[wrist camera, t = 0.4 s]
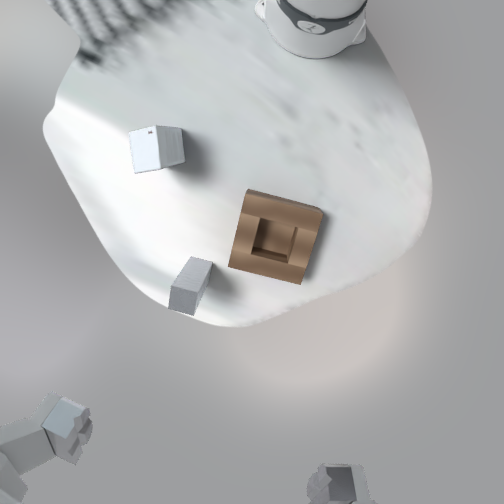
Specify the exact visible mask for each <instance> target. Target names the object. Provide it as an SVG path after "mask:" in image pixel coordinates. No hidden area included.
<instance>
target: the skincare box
mask: <svg viewBox="0 0 504 504" xmlns="http://www.w3.org/2000/svg"><path fill="white" fill-rule="evenodd" d="M129 140H130V148H131V154H132V160H133V167H134V173H135V174H136V173H142V172H148V171H154V170H160V169H163V168H167V167H170V166H173V165H177V164H181V163H184V162H185V155H184V147H183V139H182V131H181V128H176V127H167V126H157V125H154V126H150V127H146V128H142V129H138V130H134V131H130V132H129Z"/></svg>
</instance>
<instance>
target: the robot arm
mask: <svg viewBox="0 0 504 504" xmlns="http://www.w3.org/2000/svg"><path fill="white" fill-rule="evenodd" d="M366 3H367V0H259V1H258V3H257V5H256V6H255V10H254V11H255V14H256V15H257V16H258V17H259V18H260V19H261V20H262V21H264V22H265V23H266V25H267V27H268V29H269V31H270V33H271V35H272V37H273V38H274V40H275V41H276V42H277V43H278V44H279V45H280V46H281V47H283V48H284V49H286V50H287V51H289V52H291V53H293V54H295V55H298V56H301V57H306V58H326V57H330V56H333V55H335V54H337V53H339V52H341V51H342V50H343V49H345V48H346V47H348V46H350V45H355V44H360V43H362V42H364V40H365V39H366V20H365V6H366ZM263 4H264V6H263ZM360 31H361V32H360ZM89 416H90V410H89V408H87V407H85V406H83V405H80V404H78V403H76V402H74V401H72V400H70V399H67V398H65V397H64V396H62V395H60V394H57V393H55V392H53V391H51V392H50V393H48V395H47V396H46V397H45V398H44V400H43V401H42V402H41V404H40V405H39V406H38V408H37V409H36V410H35V412H34V413H33V414H32V416H31V417H30V418H29V420H28V419H27V418H24V419H21V420H18V421H15V422H12V423H9V424H6V425H3V426H1V427H0V504H23V503H22V502H21V501H22V499H23V497H24V495H25V494H26V492H27V490H28V488H27V485H26V484H25V483H24V482H23V480H22V479H21V478H20V475H22V474H24V473H25V472H28V471H30V470H32V469H33V468H35V467H37V466H39V465H41V464H43V463H45V462H47V461H49V460H51V459H52V458H54V457H55V456H58V457H60V458H62V459H64V460H66V461H68V462H70V463H72V464H75V465H76V463H77V462H78V460H79V458H80V456H81V454H82V448H81V446H82V445H84V444H87V442H88V441H89V439H90V436H91V433H92V421H91V420H90V419H89V418H88V417H89ZM307 496H308V497H309V498H310V499H311V502H310V503H309V504H377V503H376V502H375V501H374V500H370V495H369V490H368V486H367V481H366V476H365V472H364V467H363V466H362V465H352V464H349V465H348V464H321V465H320V466H319V467H318V472H316V473H314V474H313V475H312V476H311V478H310V479H309V482H308V485H307Z"/></svg>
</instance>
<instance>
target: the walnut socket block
mask: <svg viewBox="0 0 504 504" xmlns="http://www.w3.org/2000/svg"><path fill="white" fill-rule="evenodd" d="M322 217H323V213H322V212H321V210H320V209H319V208H318V207H314V206H311V205H307V204H304V203H300V202H296V201H293V200H289V199H285V198H281V197H278V196H274V195H270V194H266V193H262V192H258V191H254V190H250V189H248V190H247V192H246V193H245V197H244V201H243V205H242V210H241V214H240V218H239V222H238V226H237V230H236V234H235V239H234V243H233V247H232V251H231V255H230V260H229V264H228V267H230V268H234V269H238V270H242V271H246V272H250V273H254V274H258V275H262V276H266V277H271V278H275V279H279V280H283V281H287V282H291V283H295V284H299V285H301V282H302V279H303V276H304V273H305V270H306V267H307V264H308V261H309V258H310V255H311V252H312V249H313V245H314V242H315V239H316V236H317V233H318V230H319V226H320V223H321V220H322Z"/></svg>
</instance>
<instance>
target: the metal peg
mask: <svg viewBox="0 0 504 504" xmlns="http://www.w3.org/2000/svg"><path fill="white" fill-rule="evenodd" d="M212 263H213V262H211V261H207V260H203V259H199V258H195V257H190V259H189V260H188V262H187V263H186V265H185V266H184V267H183V269H182V270H181V272H180V273H179V275H178V276H177V278H176V279H175V281H174V282H173V284H172V285H171V292H170V299H169V306H168V309H171V310H175V311H178V312H182V313H186V314H189V315H193V316H194V314H195V312H196V309H197V307H198V305H199V302H200V300H201V298H202V296H203V293H204V291H205V289H206V287H207V284H208V282H209V277H210V272H211V268H212Z"/></svg>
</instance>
